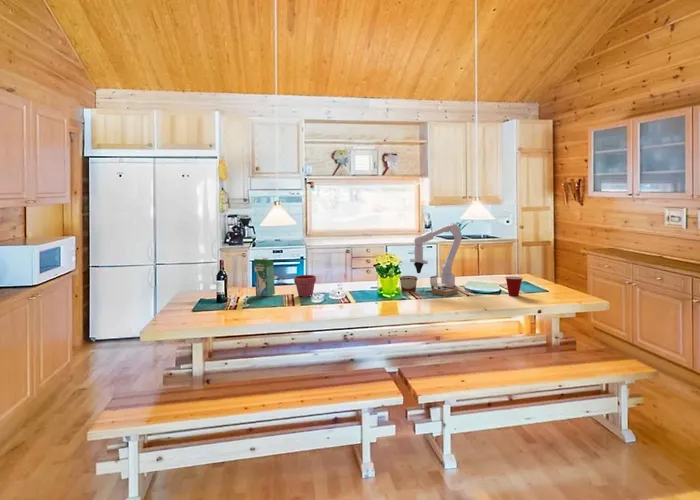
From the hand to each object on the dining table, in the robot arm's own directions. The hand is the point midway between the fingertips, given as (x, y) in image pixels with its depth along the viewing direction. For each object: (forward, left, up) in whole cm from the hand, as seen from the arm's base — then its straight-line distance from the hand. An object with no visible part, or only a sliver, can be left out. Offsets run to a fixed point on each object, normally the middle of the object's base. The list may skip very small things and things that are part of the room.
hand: (418, 273), depth 336 cm
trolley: (+4, +21, -7) cm, 23 cm away
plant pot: (+73, -34, -10) cm, 81 cm away
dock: (+4, +22, -10) cm, 24 cm away
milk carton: (+91, -55, -10) cm, 107 cm away
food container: (+16, +5, -10) cm, 19 cm away
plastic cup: (-21, +61, -10) cm, 65 cm away
